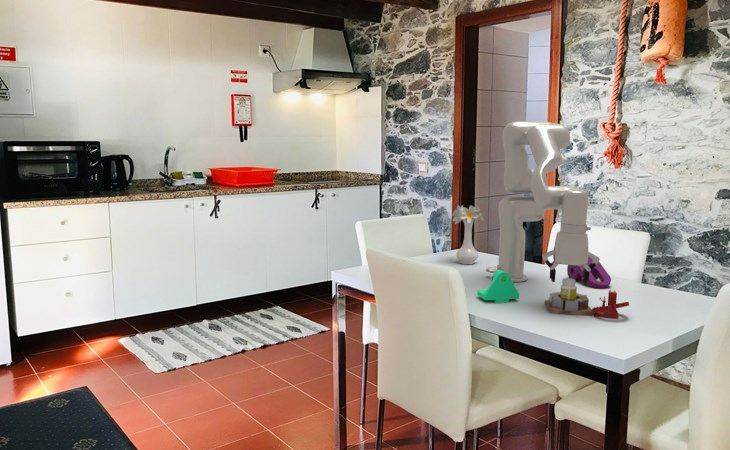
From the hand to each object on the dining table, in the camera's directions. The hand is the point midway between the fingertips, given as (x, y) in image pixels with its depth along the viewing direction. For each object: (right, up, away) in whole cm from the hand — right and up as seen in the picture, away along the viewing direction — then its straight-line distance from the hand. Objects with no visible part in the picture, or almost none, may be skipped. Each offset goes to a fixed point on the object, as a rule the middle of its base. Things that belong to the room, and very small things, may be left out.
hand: (568, 281), depth 194 cm
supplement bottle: (0, -8, +1) cm, 8 cm away
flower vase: (-21, +2, +69) cm, 72 cm away
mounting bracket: (+20, -4, +36) cm, 42 cm away
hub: (0, -8, 0) cm, 8 cm away
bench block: (0, -9, +1) cm, 9 cm away
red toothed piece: (+10, -10, -5) cm, 15 cm away
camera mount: (-20, -7, +12) cm, 24 cm away
